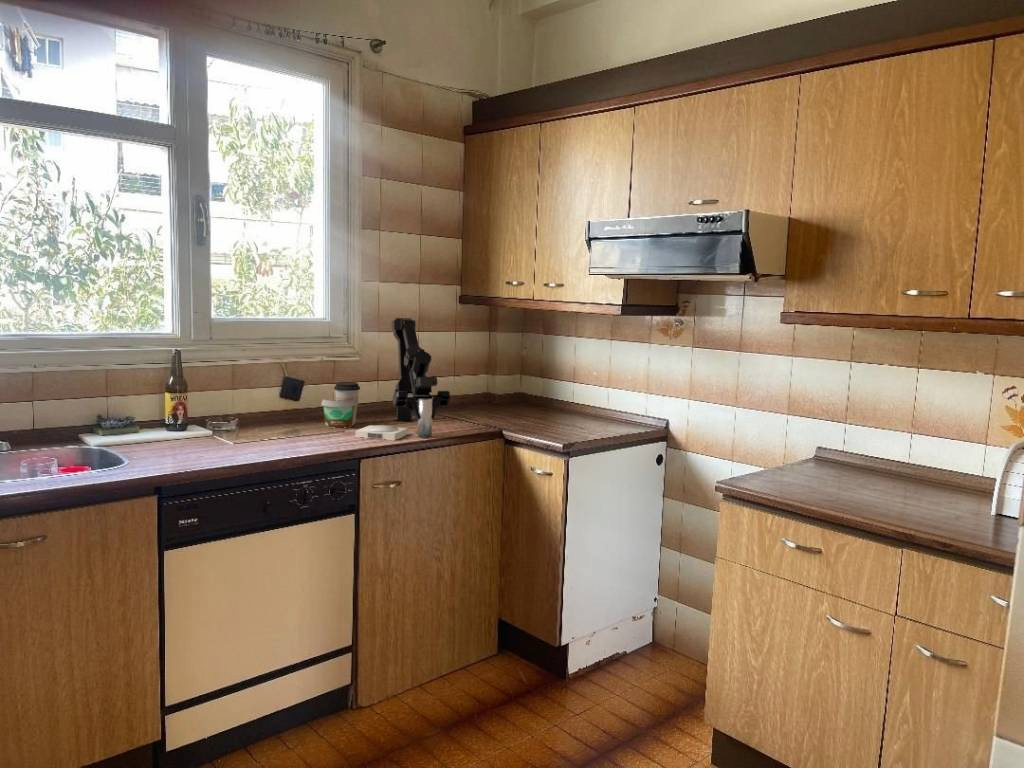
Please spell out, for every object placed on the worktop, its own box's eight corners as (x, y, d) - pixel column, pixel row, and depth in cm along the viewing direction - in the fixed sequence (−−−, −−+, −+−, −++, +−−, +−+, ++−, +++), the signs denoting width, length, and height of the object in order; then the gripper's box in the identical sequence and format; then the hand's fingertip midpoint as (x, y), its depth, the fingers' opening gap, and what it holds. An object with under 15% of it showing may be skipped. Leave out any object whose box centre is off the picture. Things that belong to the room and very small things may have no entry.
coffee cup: (329, 425, 271) (329, 384, 269) (341, 420, 280) (341, 381, 278) (353, 426, 269) (353, 385, 267) (364, 422, 278) (364, 382, 276)
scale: (369, 431, 261) (369, 423, 260) (407, 434, 257) (407, 426, 257) (355, 437, 250) (355, 429, 249) (393, 440, 246) (394, 432, 246)
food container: (321, 429, 262) (321, 401, 261) (321, 426, 268) (321, 398, 266) (357, 429, 265) (357, 401, 264) (356, 425, 271) (356, 398, 270)
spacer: (420, 435, 257) (421, 397, 256) (433, 436, 256) (434, 398, 254) (415, 437, 253) (416, 399, 251) (428, 438, 251) (429, 400, 250)
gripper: (396, 367, 252) (402, 404, 243) (449, 367, 258) (457, 403, 249) (391, 387, 260) (397, 424, 251) (443, 387, 267) (451, 422, 258)
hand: (426, 418), depth 252 cm, fingers closed on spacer, 5 cm apart
